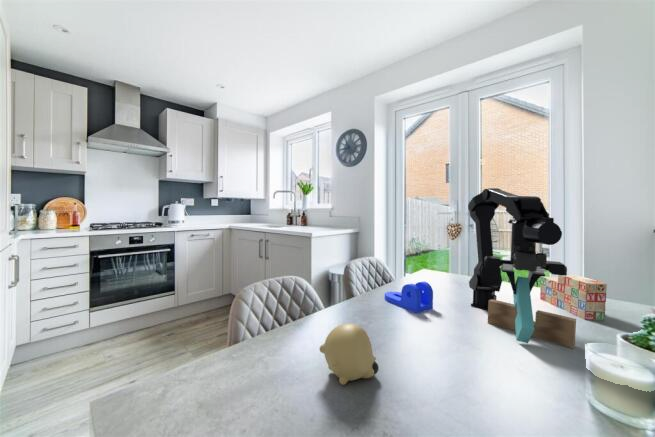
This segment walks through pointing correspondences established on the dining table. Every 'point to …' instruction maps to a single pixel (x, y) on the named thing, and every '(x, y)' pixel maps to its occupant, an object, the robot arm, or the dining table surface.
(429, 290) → the bracket
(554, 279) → the stack of blocks
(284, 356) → the dining table surface
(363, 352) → the toy pig
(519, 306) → the teal slotted plate
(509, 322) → the walnut slotted board
